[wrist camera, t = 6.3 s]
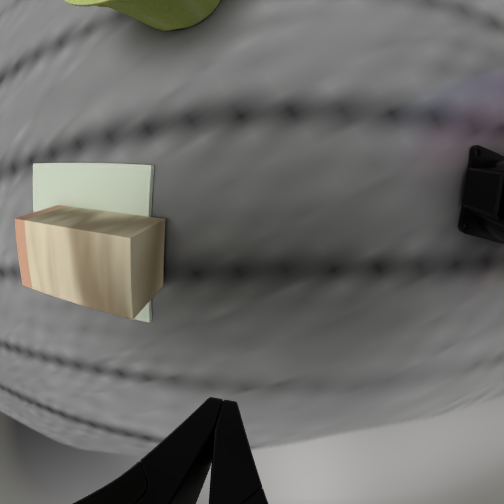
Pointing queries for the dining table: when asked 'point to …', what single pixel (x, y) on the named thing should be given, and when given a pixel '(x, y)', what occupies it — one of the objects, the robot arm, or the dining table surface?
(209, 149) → the dining table surface
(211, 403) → the robot arm
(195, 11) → the plant pot
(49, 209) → the birch block
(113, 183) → the sage mat
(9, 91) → the dining table surface
